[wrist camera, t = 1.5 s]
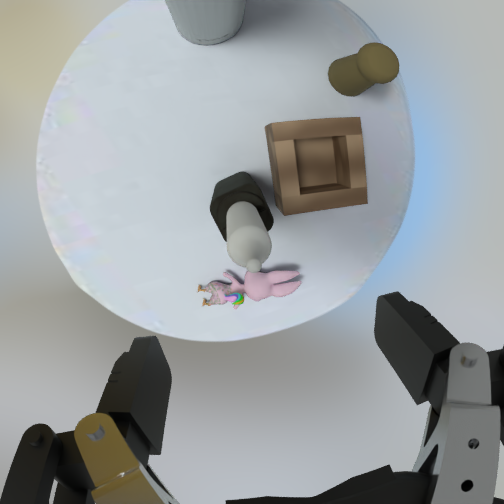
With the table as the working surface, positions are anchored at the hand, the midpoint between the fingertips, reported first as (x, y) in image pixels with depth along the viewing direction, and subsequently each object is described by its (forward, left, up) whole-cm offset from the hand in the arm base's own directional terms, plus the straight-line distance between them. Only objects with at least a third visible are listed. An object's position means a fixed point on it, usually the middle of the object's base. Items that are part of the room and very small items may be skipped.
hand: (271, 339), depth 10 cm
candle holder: (-3, +11, -31) cm, 33 cm away
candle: (0, 0, -32) cm, 32 cm away
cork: (-15, +18, -32) cm, 39 cm away
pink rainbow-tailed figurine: (+13, 0, -32) cm, 34 cm away
